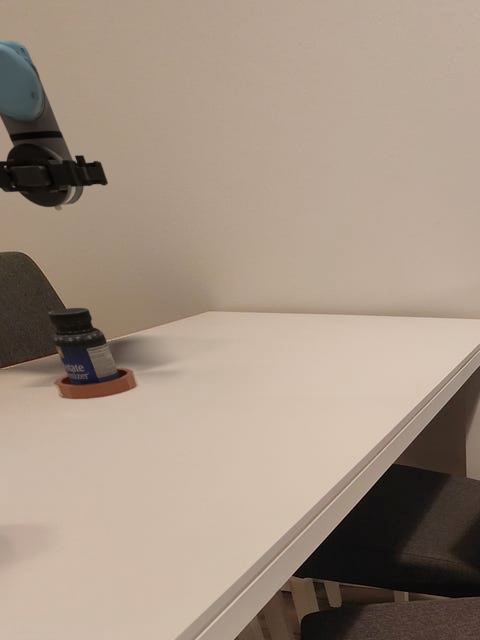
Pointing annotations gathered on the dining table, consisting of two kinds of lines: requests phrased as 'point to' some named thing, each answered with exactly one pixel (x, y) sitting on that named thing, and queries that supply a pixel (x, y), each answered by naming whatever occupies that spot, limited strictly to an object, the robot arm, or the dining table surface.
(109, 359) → the pill bottle
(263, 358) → the dining table surface
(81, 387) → the holder
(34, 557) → the dining table surface
